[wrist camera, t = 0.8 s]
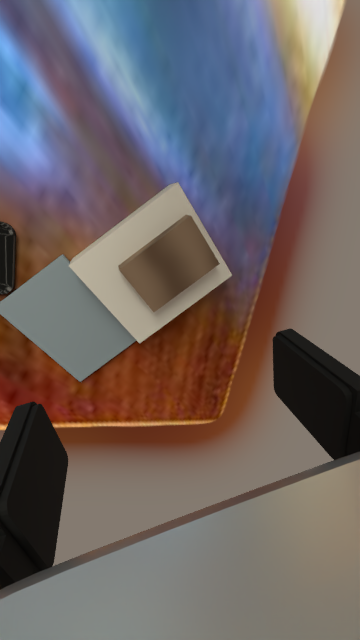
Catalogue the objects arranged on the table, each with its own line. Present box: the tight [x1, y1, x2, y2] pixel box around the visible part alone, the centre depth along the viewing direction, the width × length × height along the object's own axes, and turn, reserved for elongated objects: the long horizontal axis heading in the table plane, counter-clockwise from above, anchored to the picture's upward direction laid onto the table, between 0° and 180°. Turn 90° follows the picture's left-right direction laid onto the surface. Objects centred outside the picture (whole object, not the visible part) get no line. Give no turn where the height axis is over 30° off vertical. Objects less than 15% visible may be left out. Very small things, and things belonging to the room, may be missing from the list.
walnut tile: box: [118, 215, 220, 312], centre depth 30 cm, size 9×6×2 cm, turn 124°
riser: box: [69, 183, 232, 343], centre depth 32 cm, size 14×12×4 cm
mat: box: [0, 254, 136, 382], centre depth 34 cm, size 10×14×1 cm
